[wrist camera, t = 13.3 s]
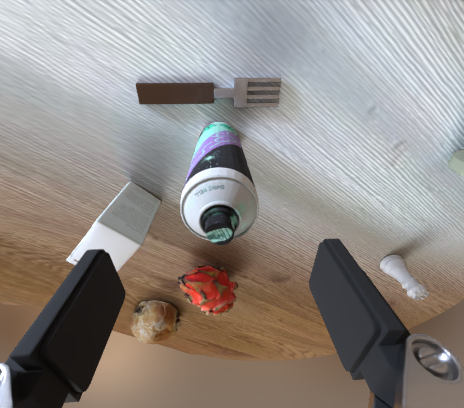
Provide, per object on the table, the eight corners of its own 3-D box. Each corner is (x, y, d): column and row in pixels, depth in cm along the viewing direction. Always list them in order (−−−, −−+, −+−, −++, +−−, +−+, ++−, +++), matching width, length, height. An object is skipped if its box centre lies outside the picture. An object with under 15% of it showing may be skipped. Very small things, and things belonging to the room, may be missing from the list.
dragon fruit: (235, 280, 46) (187, 254, 44) (254, 279, 39) (197, 247, 37) (219, 321, 42) (165, 295, 40) (237, 328, 35) (172, 297, 33)
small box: (136, 231, 36) (109, 282, 27) (104, 213, 34) (64, 262, 25) (163, 200, 34) (142, 246, 25) (130, 178, 31) (95, 220, 22)
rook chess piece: (374, 266, 44) (402, 301, 38) (388, 251, 42) (421, 285, 35) (391, 270, 45) (421, 305, 38) (405, 255, 43) (441, 289, 36)
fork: (142, 108, 27) (140, 108, 26) (136, 78, 25) (134, 78, 24) (277, 106, 27) (278, 107, 27) (280, 77, 26) (281, 77, 25)
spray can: (246, 136, 29) (287, 223, 12) (224, 168, 31) (232, 279, 14) (213, 112, 27) (204, 173, 10) (191, 147, 30) (155, 246, 12)
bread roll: (162, 281, 48) (138, 305, 41) (193, 315, 48) (175, 344, 41) (139, 303, 52) (113, 328, 44) (168, 334, 52) (147, 365, 44)
